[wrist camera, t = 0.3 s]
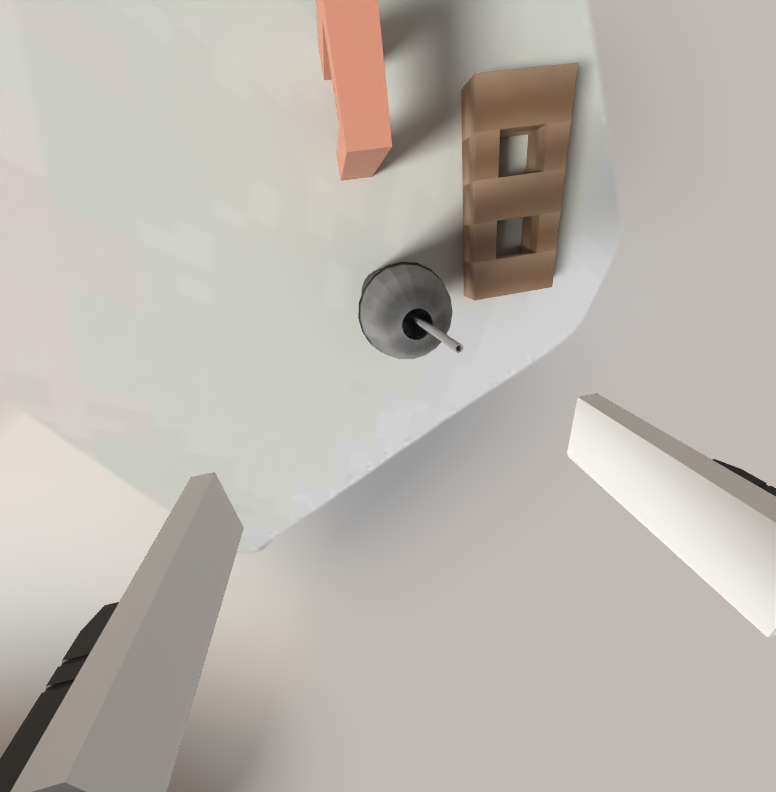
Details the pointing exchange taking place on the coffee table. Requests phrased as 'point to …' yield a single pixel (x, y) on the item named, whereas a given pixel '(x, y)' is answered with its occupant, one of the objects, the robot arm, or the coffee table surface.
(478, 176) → the slotted wooden board
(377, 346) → the beverage cup
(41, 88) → the coffee table surface
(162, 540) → the robot arm
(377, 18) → the block
